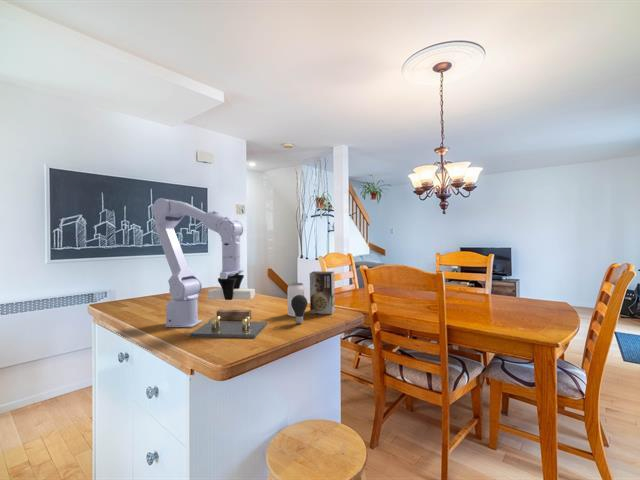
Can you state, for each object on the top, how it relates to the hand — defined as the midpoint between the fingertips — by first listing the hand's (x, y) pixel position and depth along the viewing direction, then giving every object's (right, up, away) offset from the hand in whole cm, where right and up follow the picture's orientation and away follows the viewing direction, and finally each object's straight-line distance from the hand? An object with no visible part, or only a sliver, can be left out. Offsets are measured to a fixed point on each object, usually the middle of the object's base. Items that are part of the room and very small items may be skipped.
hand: (231, 298), depth 100 cm
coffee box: (+30, -10, +21) cm, 38 cm away
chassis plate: (0, -10, -2) cm, 10 cm away
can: (+20, -10, +17) cm, 28 cm away
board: (0, 0, 0) cm, 0 cm away
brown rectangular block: (-3, -10, +12) cm, 16 cm away
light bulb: (+22, -10, +5) cm, 25 cm away
